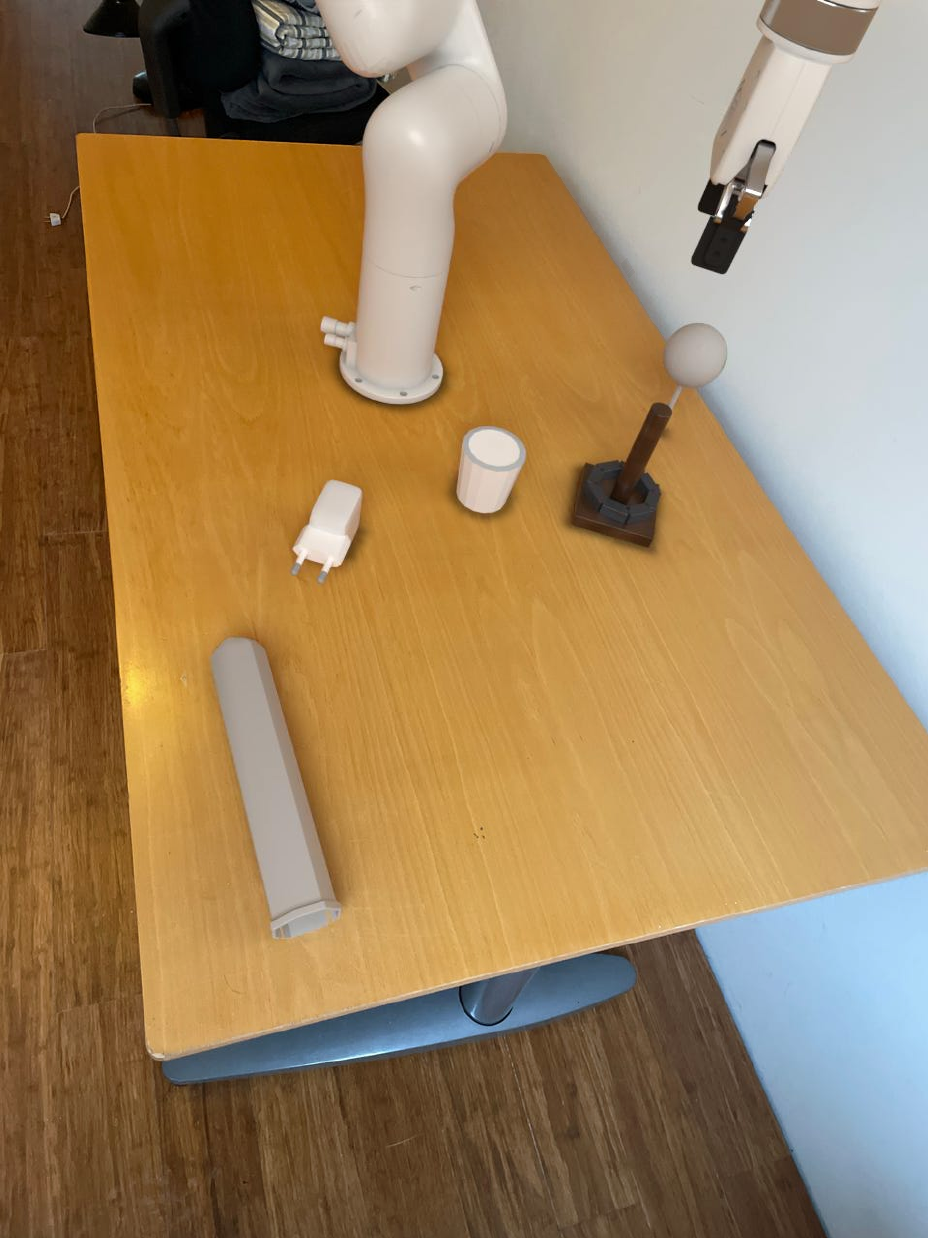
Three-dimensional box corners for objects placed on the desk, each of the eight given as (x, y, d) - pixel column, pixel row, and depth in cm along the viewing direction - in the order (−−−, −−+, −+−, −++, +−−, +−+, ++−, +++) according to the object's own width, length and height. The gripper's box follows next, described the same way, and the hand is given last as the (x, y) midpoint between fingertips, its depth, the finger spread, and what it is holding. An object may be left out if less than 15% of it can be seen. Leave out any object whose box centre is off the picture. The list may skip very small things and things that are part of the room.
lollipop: (684, 457, 101) (738, 356, 89) (628, 441, 101) (675, 338, 89) (686, 420, 105) (738, 320, 93) (633, 405, 105) (678, 302, 93)
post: (571, 524, 90) (614, 424, 79) (581, 471, 96) (623, 370, 84) (648, 547, 90) (703, 450, 79) (654, 493, 96) (706, 395, 84)
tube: (192, 640, 68) (259, 933, 56) (252, 617, 69) (332, 902, 56) (216, 668, 73) (283, 944, 60) (272, 646, 73) (351, 916, 61)
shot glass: (518, 485, 92) (534, 439, 87) (500, 526, 88) (515, 479, 83) (462, 464, 93) (474, 416, 87) (442, 503, 88) (453, 455, 83)
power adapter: (329, 607, 78) (332, 569, 73) (280, 592, 78) (281, 553, 73) (365, 527, 84) (370, 487, 80) (320, 513, 84) (323, 472, 80)
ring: (576, 504, 90) (580, 495, 89) (596, 460, 95) (600, 451, 94) (645, 533, 89) (650, 524, 88) (661, 487, 94) (666, 478, 93)
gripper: (766, -34, 64) (677, 183, 77) (764, 40, 53) (662, 276, 67) (856, -4, 64) (751, 208, 78) (872, 77, 54) (748, 305, 67)
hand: (710, 240), depth 72 cm, fingers open, 9 cm apart
